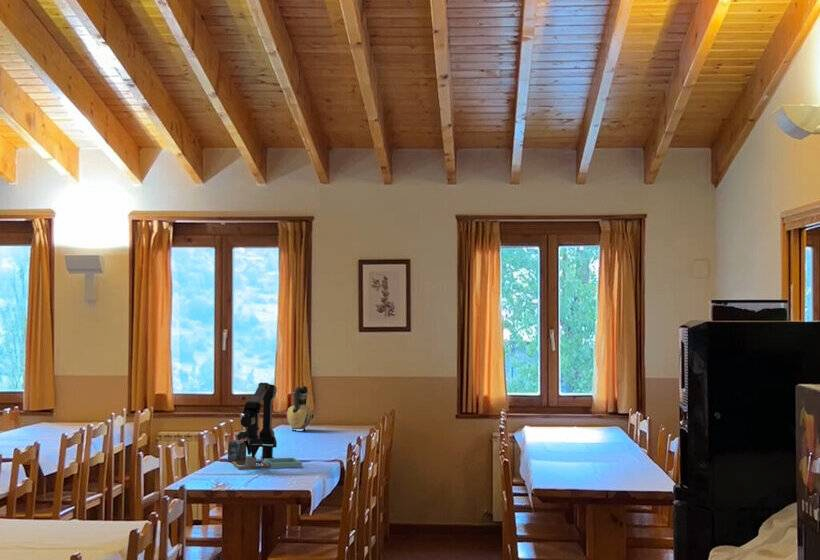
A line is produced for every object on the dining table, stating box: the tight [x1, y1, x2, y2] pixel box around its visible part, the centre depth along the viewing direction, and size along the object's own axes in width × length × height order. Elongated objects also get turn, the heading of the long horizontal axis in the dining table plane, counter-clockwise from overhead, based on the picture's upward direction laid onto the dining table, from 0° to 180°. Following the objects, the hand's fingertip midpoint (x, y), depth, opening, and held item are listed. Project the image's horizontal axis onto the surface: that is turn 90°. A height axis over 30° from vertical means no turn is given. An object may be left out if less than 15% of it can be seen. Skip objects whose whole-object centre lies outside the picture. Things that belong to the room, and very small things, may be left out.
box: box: [227, 439, 247, 463], centre depth 454 cm, size 8×6×11 cm
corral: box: [231, 460, 270, 470], centre depth 441 cm, size 16×16×2 cm
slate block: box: [244, 455, 257, 466], centre depth 441 cm, size 4×4×5 cm
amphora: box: [286, 385, 313, 430], centre depth 590 cm, size 18×17×30 cm
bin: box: [263, 457, 303, 469], centre depth 447 cm, size 16×16×2 cm
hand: (251, 456), depth 441 cm, fingers open, 9 cm apart
